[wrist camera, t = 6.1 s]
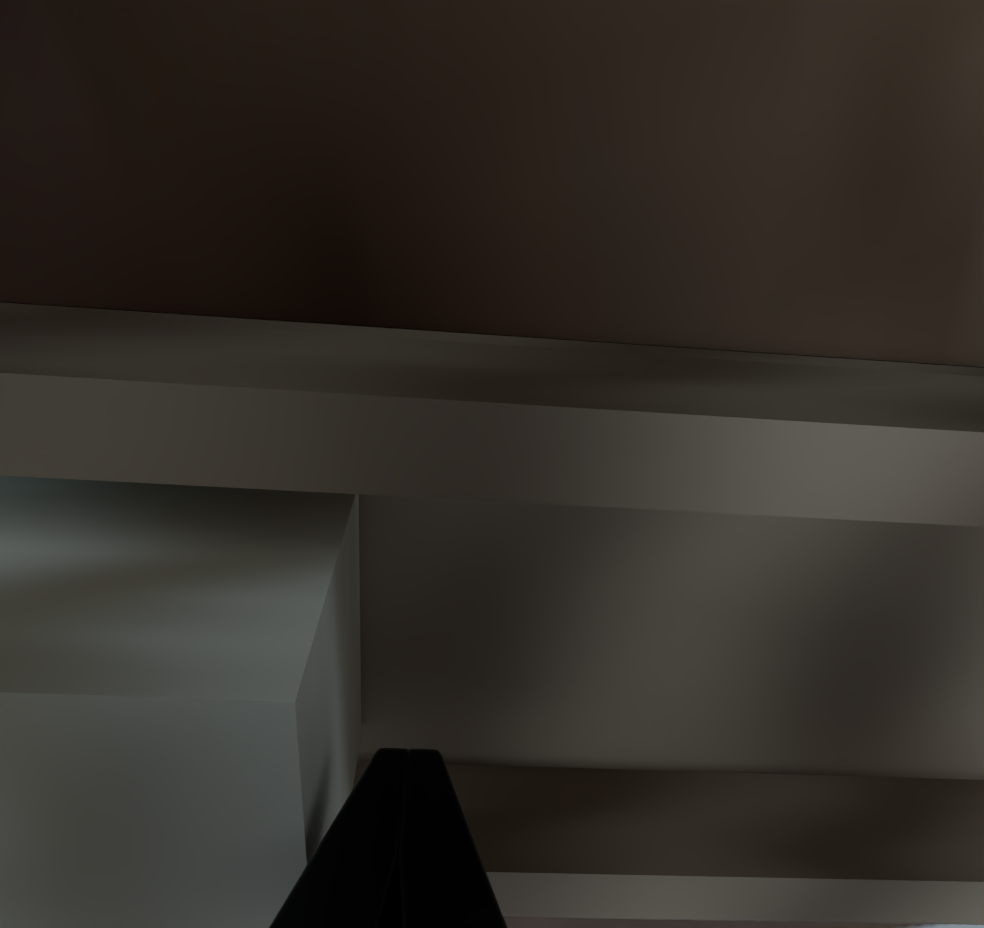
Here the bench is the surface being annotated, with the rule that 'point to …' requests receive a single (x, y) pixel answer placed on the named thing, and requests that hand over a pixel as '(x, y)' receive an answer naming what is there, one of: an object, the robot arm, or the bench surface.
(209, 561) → the block
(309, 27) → the bench surface
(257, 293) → the bench surface
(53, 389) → the chute
